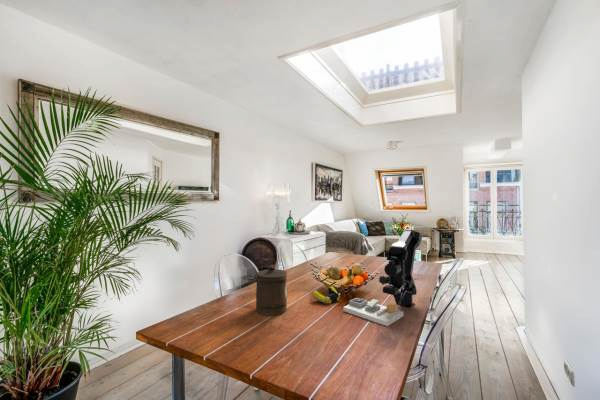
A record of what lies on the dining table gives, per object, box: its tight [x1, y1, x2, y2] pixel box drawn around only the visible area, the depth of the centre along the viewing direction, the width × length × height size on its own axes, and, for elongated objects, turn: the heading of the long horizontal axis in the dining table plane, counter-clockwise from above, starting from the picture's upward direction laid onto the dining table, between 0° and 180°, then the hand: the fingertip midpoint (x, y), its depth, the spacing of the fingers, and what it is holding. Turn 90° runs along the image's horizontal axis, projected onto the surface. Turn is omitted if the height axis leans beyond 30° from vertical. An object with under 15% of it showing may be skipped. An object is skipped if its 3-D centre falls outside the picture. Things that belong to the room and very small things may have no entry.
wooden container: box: [255, 264, 288, 317], centre depth 139 cm, size 15×15×22 cm
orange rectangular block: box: [386, 302, 397, 313], centre depth 131 cm, size 2×4×3 cm, turn 45°
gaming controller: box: [312, 286, 341, 305], centre depth 152 cm, size 15×6×10 cm
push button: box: [354, 298, 364, 303], centre depth 141 cm, size 4×4×2 cm
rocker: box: [367, 298, 380, 308], centre depth 135 cm, size 6×3×1 cm, turn 134°
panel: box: [343, 297, 404, 327], centre depth 135 cm, size 15×23×4 cm, turn 45°
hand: (397, 304), depth 135 cm, fingers closed
